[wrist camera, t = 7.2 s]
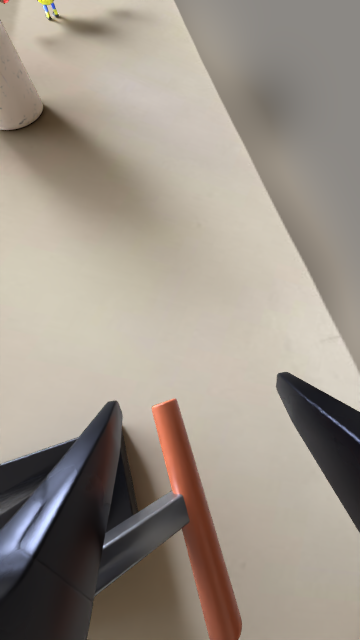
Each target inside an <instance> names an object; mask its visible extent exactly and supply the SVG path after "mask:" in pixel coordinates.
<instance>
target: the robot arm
mask: <svg viewBox="0 0 360 640" xmlns="http://www.w3.org/2000/svg"><path fill="white" fill-rule="evenodd" d="M276 388H277V391H278V393H279V395H280V397H281V400H282V402H283V404H284V406H285V408H286V410H287V412H288V414H289V416H290V418H291V420H292V422H293V424H294V426H295V427H296V429H297V431H298V432H299V434H300V436H301V437H302V439H303V441H304V442H305V444H306V445H307V447H308V449H309V450H310V452H311V454H312V455H313V457H314V459H315V460H316V462H317V464H318V465H319V467H320V468H321V470H322V472H323V473H324V475H325V477H326V478H327V480H328V482H329V483H330V485H331V486H332V488H333V490H334V491H335V493H336V495H337V496H338V498H339V500H340V501H341V503H342V505H343V506H344V508H345V509H346V511H347V513H348V514H349V516H350V518H351V519H352V521H353V523H354V524H355V526H356V528H357V529H358V531H359V532H360V412H359V411H357V410H355V409H353V408H351V407H350V406H348V405H346V404H344V403H342V402H341V401H339V400H337V399H335V398H333V397H332V396H330V395H328V394H326V393H324V392H323V391H321V390H319V389H317V388H315V387H314V386H312V385H310V384H308V383H306V382H305V381H303V380H301V379H299V378H297V377H295V376H294V375H292V374H290V373H288V372H282V373H278V375H277V383H276ZM121 431H122V411H121V409H120V406H119V404H118V402H117V401H110V402H108V403H107V404H106V405H105V406H104V407H103V408H102V410H101V411H100V412H99V413H98V415H97V416H96V417H95V418H94V419H93V421H92V422H91V423H90V424H89V425H88V427H87V428H86V429H85V430H84V432H83V433H82V434H81V435H80V436H79V438H78V439H77V440H76V441H75V443H74V444H73V445H72V446H71V447H70V449H69V450H68V451H67V452H66V454H65V455H64V456H63V457H62V458H61V460H60V461H59V462H58V463H57V465H56V466H55V467H54V468H53V469H52V471H51V472H50V473H49V474H48V475H47V478H45V479H44V480H43V481H42V483H41V484H40V485H39V486H38V488H37V489H36V490H35V491H34V492H33V494H32V495H31V496H30V497H29V498H28V499H27V501H26V502H25V503H24V504H23V505H22V506H21V508H20V509H19V510H18V511H17V512H16V513H15V514H14V515H13V516H12V518H11V519H10V520H9V521H8V522H7V523H6V524H5V525H4V526H3V527H2V529H1V530H0V640H87V635H88V630H89V624H90V618H91V613H92V607H93V600H94V595H95V590H96V584H97V578H98V573H99V567H100V561H101V556H102V550H103V544H104V539H105V533H106V528H107V522H108V516H109V511H110V505H111V499H112V494H113V488H114V483H115V477H116V471H117V466H118V460H119V454H120V445H121Z"/></svg>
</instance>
